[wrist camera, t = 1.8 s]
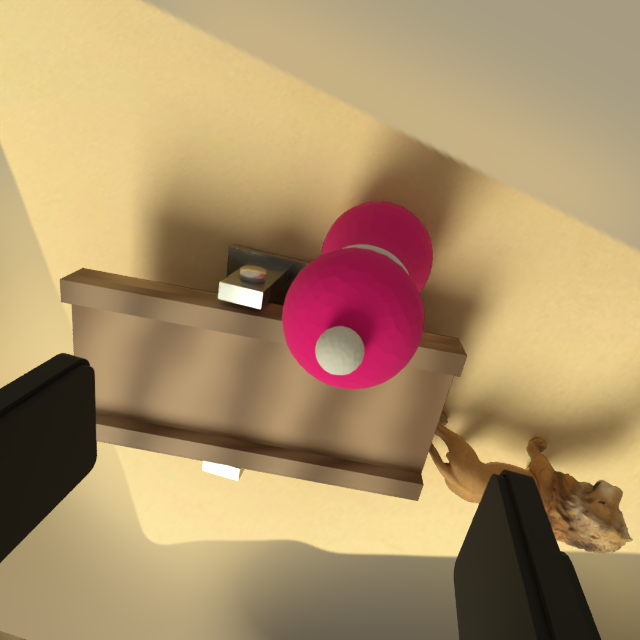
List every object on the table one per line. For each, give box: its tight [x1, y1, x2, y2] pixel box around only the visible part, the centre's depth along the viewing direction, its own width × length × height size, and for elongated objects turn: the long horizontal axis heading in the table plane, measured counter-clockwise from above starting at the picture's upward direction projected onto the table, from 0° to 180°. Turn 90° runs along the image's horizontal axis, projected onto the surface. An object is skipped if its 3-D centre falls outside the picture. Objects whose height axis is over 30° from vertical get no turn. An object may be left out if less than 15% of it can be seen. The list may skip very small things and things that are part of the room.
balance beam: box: [60, 268, 467, 501], centre depth 33 cm, size 27×13×3 cm, turn 80°
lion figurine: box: [429, 413, 633, 553], centre depth 34 cm, size 15×5×9 cm, turn 88°
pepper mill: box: [282, 202, 433, 389], centre depth 25 cm, size 7×7×20 cm
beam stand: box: [202, 245, 310, 481], centre depth 36 cm, size 7×17×7 cm, turn 170°
